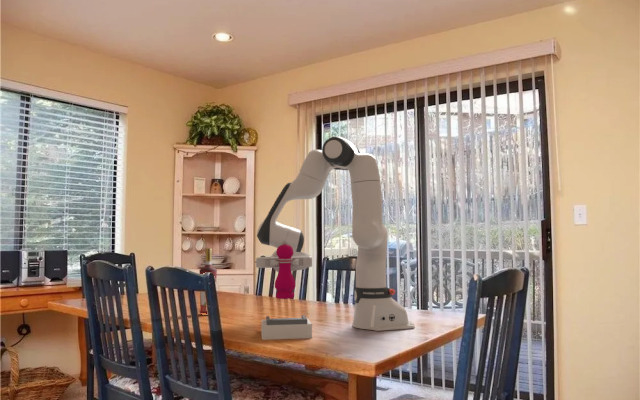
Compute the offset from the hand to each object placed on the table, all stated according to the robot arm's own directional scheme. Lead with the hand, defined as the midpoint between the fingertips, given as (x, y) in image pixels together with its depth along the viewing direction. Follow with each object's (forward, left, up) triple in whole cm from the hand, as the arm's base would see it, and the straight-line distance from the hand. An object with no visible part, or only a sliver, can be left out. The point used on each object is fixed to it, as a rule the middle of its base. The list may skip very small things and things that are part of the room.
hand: (285, 262), depth 165 cm
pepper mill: (0, -1, -12) cm, 12 cm away
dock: (0, +4, -24) cm, 24 cm away
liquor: (+30, -44, -24) cm, 58 cm away
